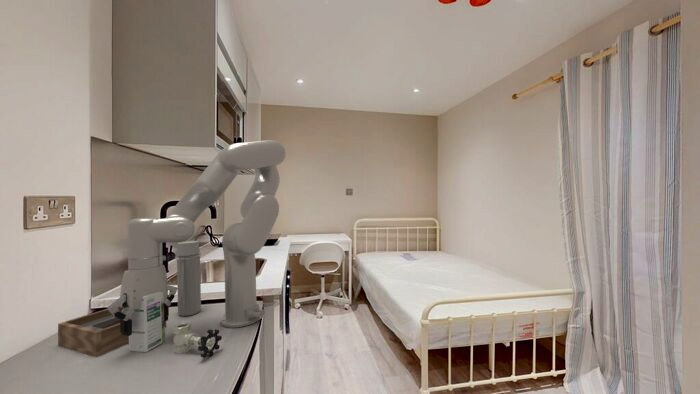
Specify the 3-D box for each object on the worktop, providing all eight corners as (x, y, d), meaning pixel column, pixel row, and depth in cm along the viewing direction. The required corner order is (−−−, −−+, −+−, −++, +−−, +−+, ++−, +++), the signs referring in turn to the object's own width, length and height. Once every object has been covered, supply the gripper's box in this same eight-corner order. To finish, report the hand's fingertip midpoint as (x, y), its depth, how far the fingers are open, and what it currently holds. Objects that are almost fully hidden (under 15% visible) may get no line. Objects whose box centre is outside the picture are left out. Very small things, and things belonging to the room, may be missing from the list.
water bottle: (182, 309, 102) (181, 241, 102) (205, 308, 103) (204, 240, 103) (169, 320, 93) (168, 244, 93) (194, 318, 94) (193, 243, 94)
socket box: (166, 327, 87) (165, 307, 87) (95, 357, 71) (95, 333, 71) (130, 319, 94) (129, 301, 94) (58, 345, 77) (58, 323, 78)
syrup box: (146, 352, 72) (145, 296, 72) (127, 351, 73) (127, 295, 74) (165, 341, 78) (164, 289, 78) (147, 340, 79) (146, 288, 79)
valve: (165, 356, 70) (200, 364, 66) (164, 329, 71) (200, 336, 66) (188, 343, 77) (222, 350, 72) (187, 319, 77) (221, 324, 73)
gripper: (167, 256, 85) (168, 313, 85) (99, 269, 69) (99, 339, 69) (184, 258, 83) (185, 316, 82) (117, 271, 66) (117, 344, 66)
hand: (146, 327), depth 75 cm, fingers open, 9 cm apart
